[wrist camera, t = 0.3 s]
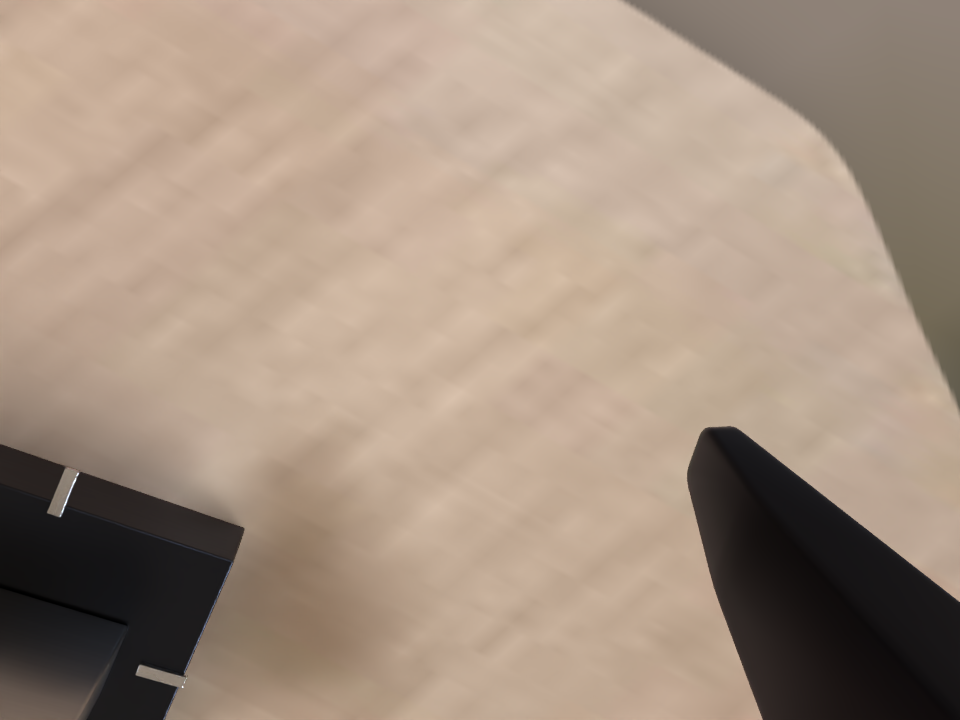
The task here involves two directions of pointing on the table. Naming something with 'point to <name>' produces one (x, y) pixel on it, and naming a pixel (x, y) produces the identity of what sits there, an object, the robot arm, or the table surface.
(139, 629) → the panel
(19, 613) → the red-capped metal block
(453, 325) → the table surface
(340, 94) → the table surface
